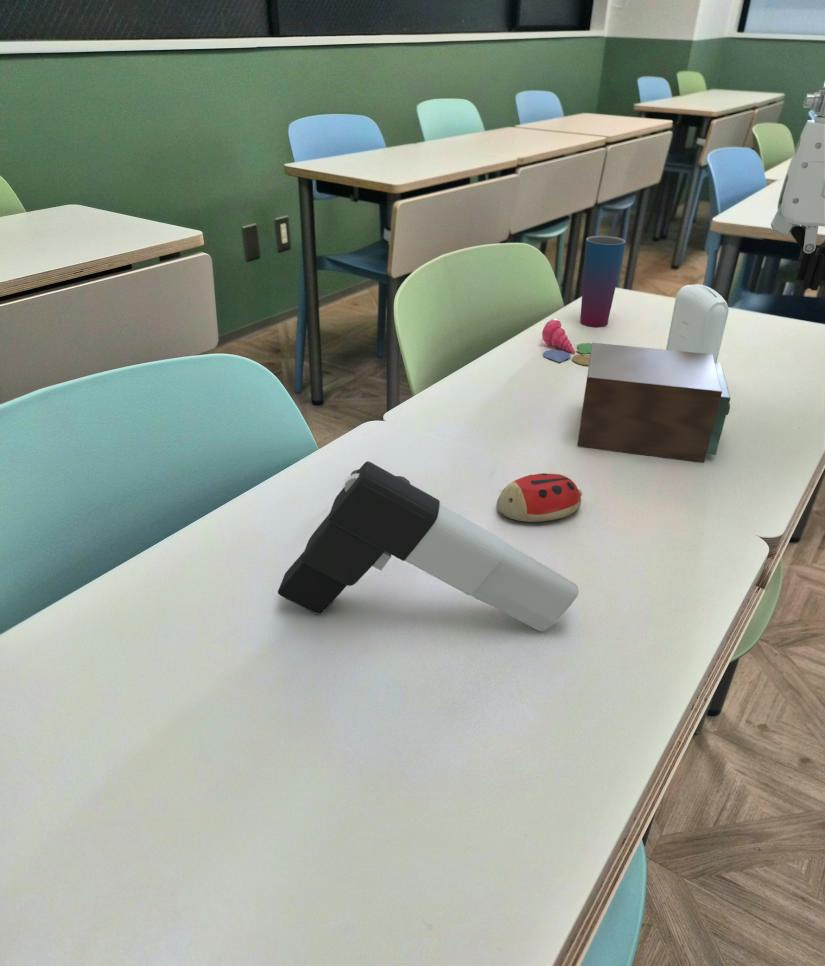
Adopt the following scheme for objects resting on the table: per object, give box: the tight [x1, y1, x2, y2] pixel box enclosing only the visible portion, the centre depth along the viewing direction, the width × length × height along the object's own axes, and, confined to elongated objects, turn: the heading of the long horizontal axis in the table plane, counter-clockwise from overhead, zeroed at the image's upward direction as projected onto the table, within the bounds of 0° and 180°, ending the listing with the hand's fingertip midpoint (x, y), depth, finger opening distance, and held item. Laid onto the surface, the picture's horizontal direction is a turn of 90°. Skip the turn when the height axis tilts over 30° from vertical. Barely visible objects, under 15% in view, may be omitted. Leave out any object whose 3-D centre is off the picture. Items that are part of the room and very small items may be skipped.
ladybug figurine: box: [496, 473, 583, 523], centre depth 80 cm, size 7×10×4 cm
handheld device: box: [277, 460, 579, 633], centre depth 64 cm, size 4×22×15 cm, turn 84°
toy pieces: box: [541, 318, 593, 367], centre depth 122 cm, size 12×11×4 cm
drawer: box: [706, 362, 731, 456], centre depth 95 cm, size 16×11×8 cm
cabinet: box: [576, 342, 722, 463], centre depth 95 cm, size 16×13×10 cm
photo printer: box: [665, 283, 729, 363], centre depth 116 cm, size 10×4×12 cm, turn 13°
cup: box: [579, 235, 627, 328], centre depth 132 cm, size 7×7×15 cm
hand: (806, 286), depth 84 cm, fingers closed
